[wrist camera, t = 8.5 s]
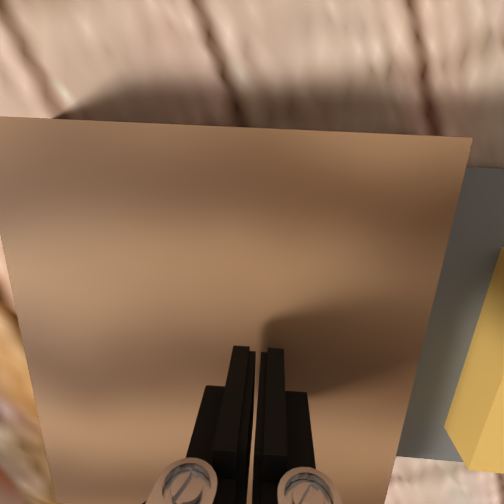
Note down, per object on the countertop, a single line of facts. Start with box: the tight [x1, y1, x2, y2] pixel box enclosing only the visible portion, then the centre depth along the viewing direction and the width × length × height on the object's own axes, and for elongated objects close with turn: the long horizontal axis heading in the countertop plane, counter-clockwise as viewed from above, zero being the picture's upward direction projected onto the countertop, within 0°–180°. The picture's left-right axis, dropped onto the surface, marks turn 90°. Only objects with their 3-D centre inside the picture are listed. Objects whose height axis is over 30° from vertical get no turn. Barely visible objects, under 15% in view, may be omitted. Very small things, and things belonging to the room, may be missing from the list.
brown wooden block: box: [0, 116, 473, 504], centre depth 14 cm, size 16×14×4 cm
